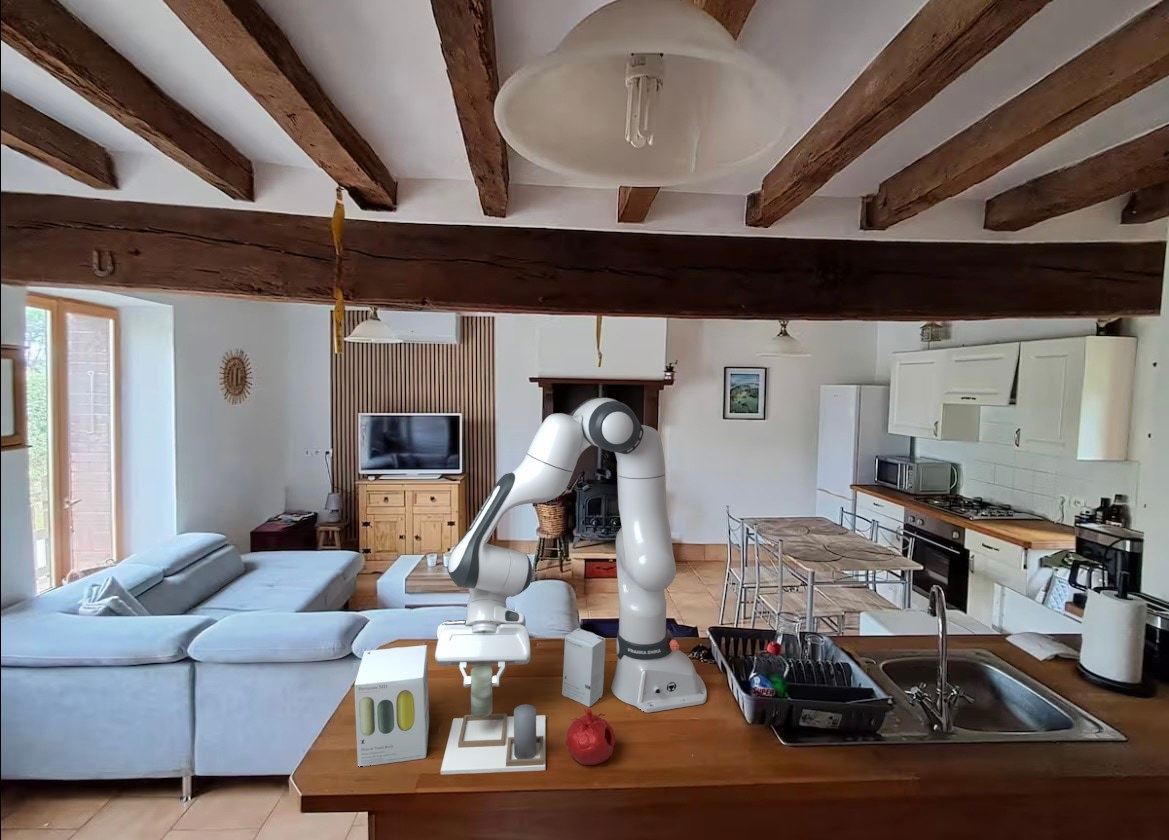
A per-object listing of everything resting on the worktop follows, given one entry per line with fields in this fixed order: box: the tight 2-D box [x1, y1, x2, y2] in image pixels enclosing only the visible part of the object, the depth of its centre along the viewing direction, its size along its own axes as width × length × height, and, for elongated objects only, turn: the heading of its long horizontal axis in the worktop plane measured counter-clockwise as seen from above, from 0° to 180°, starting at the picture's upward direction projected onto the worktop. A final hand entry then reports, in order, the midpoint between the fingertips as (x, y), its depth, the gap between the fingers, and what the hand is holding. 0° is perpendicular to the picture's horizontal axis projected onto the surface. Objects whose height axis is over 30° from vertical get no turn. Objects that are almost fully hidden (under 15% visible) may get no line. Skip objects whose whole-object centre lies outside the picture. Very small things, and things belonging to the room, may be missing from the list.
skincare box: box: [561, 628, 607, 708], centre depth 137 cm, size 8×6×15 cm
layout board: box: [440, 703, 546, 776], centre depth 120 cm, size 20×16×10 cm
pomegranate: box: [565, 708, 616, 766], centre depth 117 cm, size 10×10×9 cm
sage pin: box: [470, 665, 493, 718], centre depth 122 cm, size 4×4×9 cm
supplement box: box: [354, 644, 430, 768], centre depth 120 cm, size 13×13×18 cm
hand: (481, 686), depth 121 cm, fingers closed on sage pin, 4 cm apart
